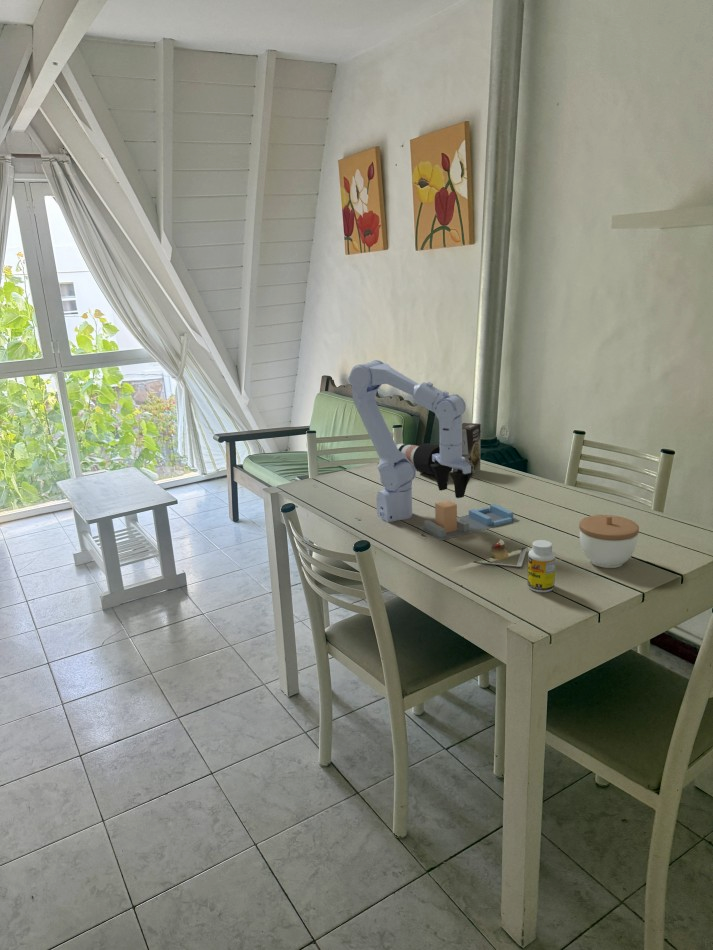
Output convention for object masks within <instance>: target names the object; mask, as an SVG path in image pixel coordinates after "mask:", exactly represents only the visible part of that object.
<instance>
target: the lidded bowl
mask: <svg viewBox="0 0 713 950" xmlns="http://www.w3.org/2000/svg"><path fill="white" fill-rule="evenodd" d="M578 529H579V531H578V532H579V533H578V534H579V544H580V548H581V551H582V552H583V554H584V555H585V556H586V559H588V560H589V562H590V563H591V564H592V565H594V566H597V567H599V568H604V569H616V568H620V567H622V566H623V564H625V563H626V562H628V560H630V559H631V558H632V556H633V554H634V553H635V550H636V547H637V543H638V537H639V536H638V535H639V533H640V531H639V530H640V527H639V525H638V524H637V523H636V522H635V521H633V520H632V519H629V518H626V517H623V516H618V515H610V514H598V515H597V514H596V515H595V514H594V515H591V516H590V515H589V516H586V517H584V518H582V519H581V520H580V521H579V523H578Z"/></svg>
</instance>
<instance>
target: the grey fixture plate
mask: <svg viewBox="0 0 713 950" xmlns="http://www.w3.org/2000/svg"><path fill="white" fill-rule="evenodd" d="M518 521H520V519H518V518H517V517H516V518H515V517H514V511H511V510H509V509H507V508H505V507H502V506H501V505H498V504H497V503H494V504H490V505H489V507H488V506H486V507H482V508H479V509H474V508H472V509H469V510H468V514H466V515H462V516H457V530H456V531H452V532H448V533H446V529H445V528H443V527H441V526H439V525H437V524H436V522H434V521H432V520H430V519H426V520H423V525H421V526H417V528H419V529H420V530H422V531H423V532H426V534H429V535H430V536H433V537H434V538H436V539H437V540H439V541H445V540H446V541H447V540H450V539H454V538H458V537H461V536H464V535H468V534H469V535H470V534H472V533H475V532H481V531H483V530H487V529H491V528H496V527H499V526H504V525H507V524H511V523H515V522H518Z"/></svg>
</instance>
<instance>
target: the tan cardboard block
mask: <svg viewBox="0 0 713 950" xmlns="http://www.w3.org/2000/svg"><path fill="white" fill-rule="evenodd" d="M434 507H435V508H434V509H435V510H434V511H435V512H434V513H435V515H434V516H435V518H434V519H435V522H434V523H436V524H437V525H439V526H441V527H443V528H445V529H446V533H448V532H452V531H456V530H457V517H458V504H456V503H455V502H451V501H450V500H444V501H440V502H436V503H435V504H434Z"/></svg>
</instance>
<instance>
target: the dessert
mask: <svg viewBox="0 0 713 950" xmlns="http://www.w3.org/2000/svg"><path fill="white" fill-rule="evenodd" d="M518 550H520V554H519V558H518V559H517V564H516V565H515V564H508V563H507V564H506V563H498V562H487V561H478V560H476V561H473V563H476V564H486V565H493V566H505V567H514V568H515V567H517V568H520V567H522V566H523V562H524V559H525V556H526V553H527V550H528V546H526V547H522V548H518ZM490 554H491V555H492V556H490V558H491V559H493V560H506V559H508V558H509V556H510V555H509V553H508V549H507V546H506V544H505V541H504V540H503V539H501V538H500V539H499V540H498V541H497V542H494V543H492V546H491V549H490Z"/></svg>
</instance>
